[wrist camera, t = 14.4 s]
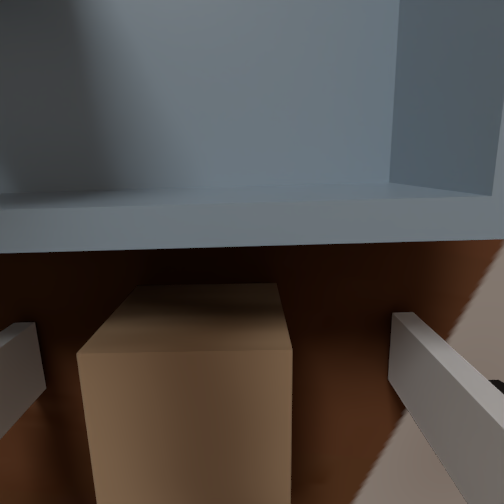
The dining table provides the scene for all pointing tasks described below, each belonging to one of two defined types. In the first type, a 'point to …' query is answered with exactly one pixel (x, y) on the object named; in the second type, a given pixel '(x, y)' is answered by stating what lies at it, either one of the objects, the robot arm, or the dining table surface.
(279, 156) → the tote
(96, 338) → the block
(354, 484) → the dining table surface
